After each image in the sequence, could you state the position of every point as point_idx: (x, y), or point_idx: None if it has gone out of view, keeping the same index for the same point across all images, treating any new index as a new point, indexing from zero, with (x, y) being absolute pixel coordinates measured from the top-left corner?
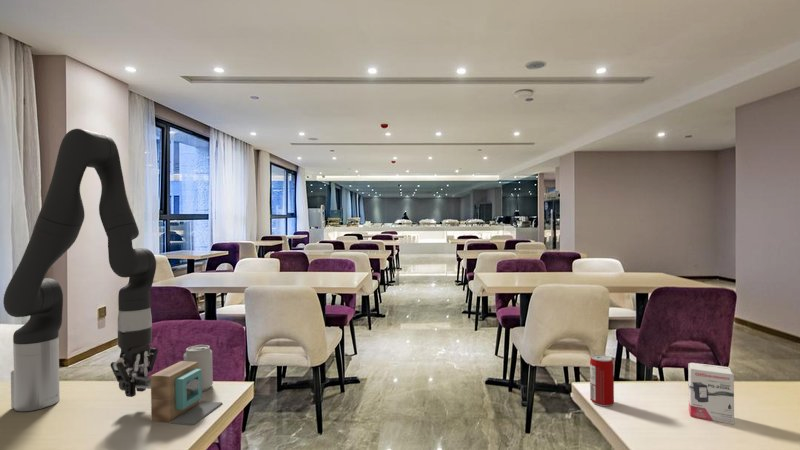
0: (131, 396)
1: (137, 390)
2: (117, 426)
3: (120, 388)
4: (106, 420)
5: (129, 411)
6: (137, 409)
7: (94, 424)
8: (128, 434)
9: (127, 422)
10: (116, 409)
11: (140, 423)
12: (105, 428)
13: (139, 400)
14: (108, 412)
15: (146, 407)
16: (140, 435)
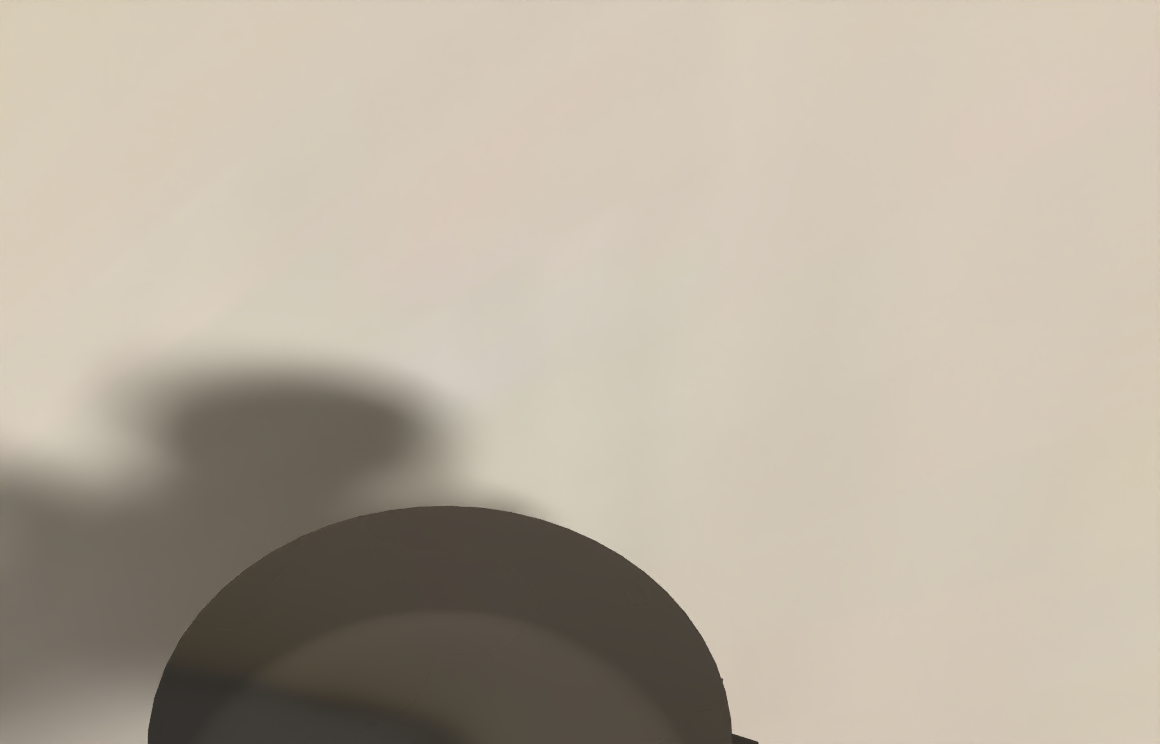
0: None
1: None
2: (114, 456)
3: (299, 557)
4: (211, 219)
5: (543, 402)
6: (621, 486)
7: (65, 114)
8: (20, 627)
9: (226, 521)
10: (623, 128)
11: None
12: (32, 344)
13: (1074, 357)
14: (484, 51)
15: (696, 581)
16: (43, 720)
